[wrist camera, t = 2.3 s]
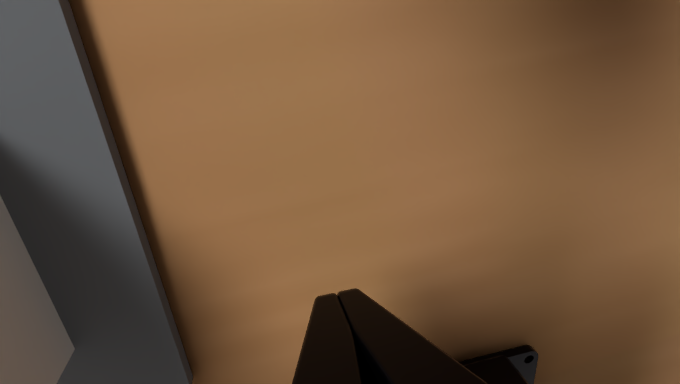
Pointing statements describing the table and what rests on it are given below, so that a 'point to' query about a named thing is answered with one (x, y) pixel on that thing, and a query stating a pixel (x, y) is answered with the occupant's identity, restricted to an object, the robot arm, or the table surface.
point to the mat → (79, 204)
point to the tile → (27, 316)
